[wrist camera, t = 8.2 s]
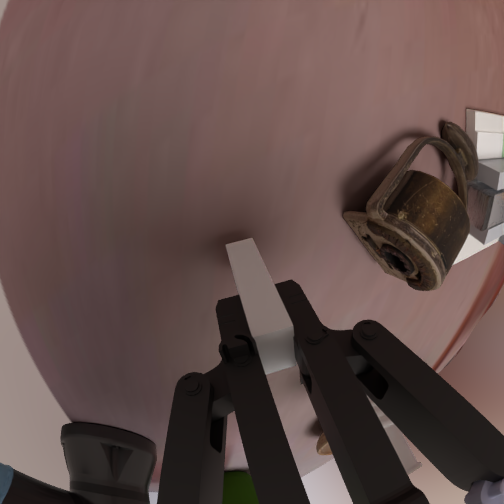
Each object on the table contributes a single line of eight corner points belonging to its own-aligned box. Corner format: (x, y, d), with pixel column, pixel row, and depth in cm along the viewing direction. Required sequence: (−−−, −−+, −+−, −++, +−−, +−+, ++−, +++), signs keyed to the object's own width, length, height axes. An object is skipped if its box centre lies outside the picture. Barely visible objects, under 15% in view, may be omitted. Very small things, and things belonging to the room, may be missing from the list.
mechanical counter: (369, 164, 10) (397, 342, 13) (520, 121, 8) (524, 259, 12) (319, 155, 16) (355, 283, 20) (454, 118, 15) (470, 228, 19)
